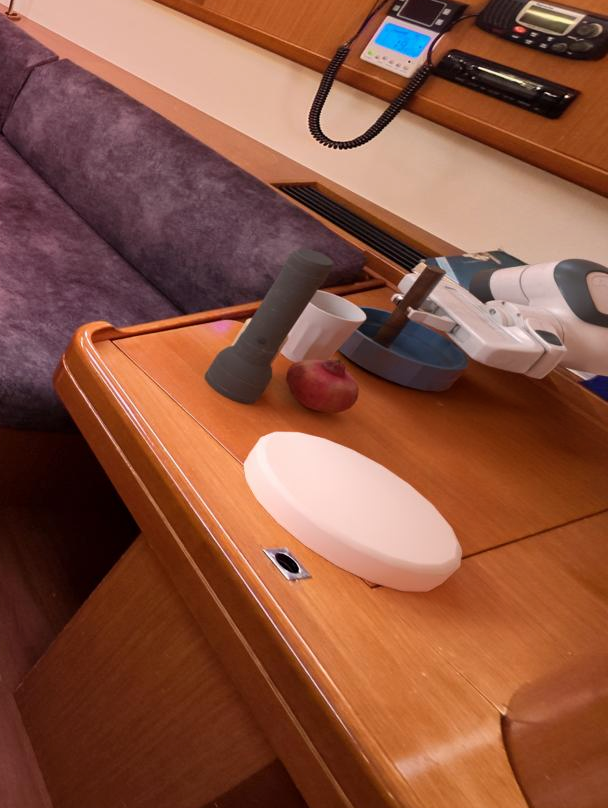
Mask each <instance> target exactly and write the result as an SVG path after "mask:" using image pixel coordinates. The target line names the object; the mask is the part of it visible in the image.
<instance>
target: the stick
mask: <svg viewBox="0 0 608 808" xmlns="http://www.w3.org/2000/svg"><path fill="white" fill-rule="evenodd" d="M446 274H447V271H446V270H445V269H444V268H441V267H439V266H437V265H433V264H428V265H426V266H425V268H424V269H423V270H422V271H421V273H420V274H419V275H420V276H419V277H418V278H417V280H416V281H415V282H414V284H413V285H412V286H411V288H410V289H409V291H408V292H407V293H406V295H405V296H404V297H403V299H402V300H401V301H400V303H399V304H398V305H397V306H396V307H394V309H393V311H391V312H392V313H391V315H390V316H389V317H388V319H387V320H386V322H385V323H384V324H383V326H382V327H381V328H380V330H379V331H378V332H377V334H376V335H375V336H374V338H373V339H371V338H369V339H371V340H373V341H374V342H376V343H378V344H380V345H381V346H383V347H385V348H387V349H389V350H391V351H393V349H392V348H391V347H390V346H391V345H392V344H393V342H394V341H395V340H396V338H397V337H398V336H399V334H400V333H401V332H402V330H403V329H404V328H405V327H406V325H407V324H408V323H409V321H410V319H409V318H408V317H407V316H406V315H405V314H404V312H405V311H406V309H407V308H408V307H415V308H420V307H421V306H422V304H423V303H424V302H425V300H426V299H427V298H428V296H429V295H430V294H431V292H432V291H433V290H434V289H435V287H436V286H437V285H438V283H439V282H440V281H441V280H443V278H444V277H445V275H446Z"/></svg>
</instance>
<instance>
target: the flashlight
mask: <svg viewBox="0 0 608 808" xmlns="http://www.w3.org/2000/svg"><path fill="white" fill-rule="evenodd" d="M333 269H334V263H333V260H332V259H331V258H330V257H328V256H327V255H325V254H324V253H321V252H319V251H316V250H313V249H308V248H304V247H303V248H301V247H300V248H297V249H295V250H292V251H291V252H290V254H289V256H288V258H287V259H286V261H285V263H284V264H283V266H282V268H281V270H280V272H279V274H278V275H277V277H276V278H275V280H274V282H273V283H272V285H271V286H270V288H269V290H268V292H267V293H266V295H265V297H264V298H263V300H262V301H261V303H260V305H259V306H258V308H257V309H256V311H255V312H254V314H253V316H252V317H251V318H252V319H251V321H250V322H249V324H248V326H247V327H246V329H245V330H244V332H243V333H242V334H241V335H240V337H239V338H238V340H237V342H236V343H235V345H234V346H231V345H230V346H227V347H225V348H223V349H222V350H220V351H219V352H218V354H216V356H215V357H214V359H213V361H212V362H211V364H210V365H209V367H208V369H207V370H206V372H205V374H204V378H205V381H206V382H207V384H208V385H209V386H210V387H211V388H212V389H213V390H215V392H217V393H219V394H220V395H221V396H223V397H225V398H227V399H229V400H231V401H234V402H236V403H240V404H245V405H252V404H256V403H257V402H258V401H259V399H260V398H261V397H262V395H263V394H264V392H265V391H266V389H267V387H268V386H269V385H270V382H271V380H272V378H273V367H272V365H271V364H270V363H271V361H272V360H273V358H274V357H275V355H276V354H277V352H278V350H279V347H280V346H281V344H282V343H283V341H284V340H285V338H286V337H287V335H288V334H289V332H290V331H291V329H292V328H293V326H294V325H295V323H296V322H297V320H298V319H299V317H300V316H301V314H302V313H303V311H304V310H305V308H306V307H307V305H308V304H309V302H310V301H311V299H312V298H313V296H314V295H315V293H316V292H317V290H319V288H320V287H321V286H323V284H324V283H325V281H326V280H327V278H328V277H329V276H330V274H331V272H332V271H333Z"/></svg>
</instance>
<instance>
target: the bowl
mask: <svg viewBox="0 0 608 808" xmlns="http://www.w3.org/2000/svg"><path fill="white" fill-rule="evenodd" d="M356 306H357V307H359V308H360V309H361V310H362V311H363V312H364V313H365V315H366V320H365V321H364V322H363V323H362V324H361V325H360V326H359V327H358V328H357V329H356V330H355V331H354V332H353V334H352V335H351V336H350V337H349V338H348V339H347V340H346V341H345V342H344V343H343V344H342V346H341V347H340V348H339V349H338V350H337V351H339V352H340V353H341V354H342V355H344V357H346V358H347V359H349V360H350V361H351V362H354V363H355V364H356V365H357V366H358V365H359V366H360V367H361V368H362V369H365V370H367V371H368V372H370V373H372V374H374V375H377V376H378V377H380V378H383V379H385V380H388V381H390V382H394V383H396V384H398V385H400V386H401V385H402V386H404V387H407V388H411V389H416V390H420V391H425V392H442V391H446V390H449V389H450V388H451V387H452V386H453V385H454V383H455V382H456V381H457V380H458V379H459V378H460V376H461V375H462V374H463V373H464V372H465V371H466V370H467V368H468V366H469V365H470V364H469V363H470V360H469V358H468V356H467V353H466V352H465V351H464V350H463V349H462V348H460V347H459V346H458V345H457V344H456V343H455V342H454V341H453V340H452V339H449V338H448V337H446V336H445V335H443V334H442V333H440V332H438V331H437V330H435V329H434V328H432V327H430V326H428V325H426V324H424V323H422V322H418V321H414V320H410V321H409V323H408V324H407V325H406V327H405V328H404V329H403V330H402V332H401V333H400V334H399V336H398V337H397V338H396V340H395V341H394V342H393V344H392V345H391V346H390V347H391V348H392V349H393V351H391V350H389V349H387V348H385V347H383V346H381V345H380V344H378V343H376V342H374V341H373V340H371V339H373V338H374V336H375V335H376V334H377V332H378V331H379V330H380V328H381V327H382V326H383V324H384V323H385V322H386V320H387V319H388V317H389V316H390V315H391V313H392V312H393V311H389V310H387V309H382V308H378V307H373V306H370V305H369V306H368V305H356ZM369 338H371V339H369Z"/></svg>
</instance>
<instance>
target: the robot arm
mask: <svg viewBox="0 0 608 808" xmlns="http://www.w3.org/2000/svg"><path fill="white" fill-rule="evenodd" d="M419 276H420V274H419V273H413V272H412V273H411V272H410V273H406V274H405V275H404V276H403V277H402V279H401V280H400V282H399V283H398V285H397V289H398V290H399V291H400V292H401V293H394V294H393V295H392V296H391V298H390V302H392V303H393V304H394V305H395V306H396V307H397V305H398V304H399V303H400V301H401V300H402V299H403V297H404V296H405V295H406V293H407V292H408V291H409V289H410V288H411V286H412V285H413V284H414V282H415V281H416V280H417V278H418V277H419ZM404 314H405V315H406V316H407V317H408V318H409V319H410V320H414V321H416V322H419V323H421V324H423V325H425V326H428V327H430V328H432V329H436V330H438V331H441V332H443V333H445V334H446V335H447V337H449V338H450V340H451V341H452V342H453V343H455V344H456V345H457V346H458V347H459V348H460V349H461V350H462V351H463V352H464V353H465V354H466V355H468V357H470V358H471V359H472V360H474V361H476V362H477V363H480V364H482V365H484V366H486V367H490V368H494V369H498V370H502V371H506V372H511V373H516V374H522V375H524V376H526V377H529V378H533V379H537V380H538V379H539V380H541V379H544V377H546V376H547V375H548V374H549V373H550V372H551V371H553V369H555V367H556V366H559V367H562V368H565V369H569V370H573V371H577V372H581V373H585V374H586V373H587V374H592V375H597V376H602V377H603V376H604V377H608V267H607V266H605V265H603V264H601V263H598V262H595V261H592V260H589V259H583V258H567V259H559V260H551V261H545V262H539V263H538V262H537V263H531V264H525V265H518V266H511V267H501V268H488V269H482V270H480V271H478V272H476V273H475V274H473V276H472V277H471V279H470V280H469V285H468V290H467V289H466V288H464V287H463V286H461V285H460V284H459V285H458V284H457V283H453V282H450V281H448V280H443V279H441V281H440V282H439V283H438V285H437V286H436V287H435V289H434V290H433V291H432V292H431V294H430V295H429V296H428V298H427V299H426V300H425V302H424V303H423V304H422V306H421V307H420V308H415V307H408V308H407V309H406V311H405V312H404Z"/></svg>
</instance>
